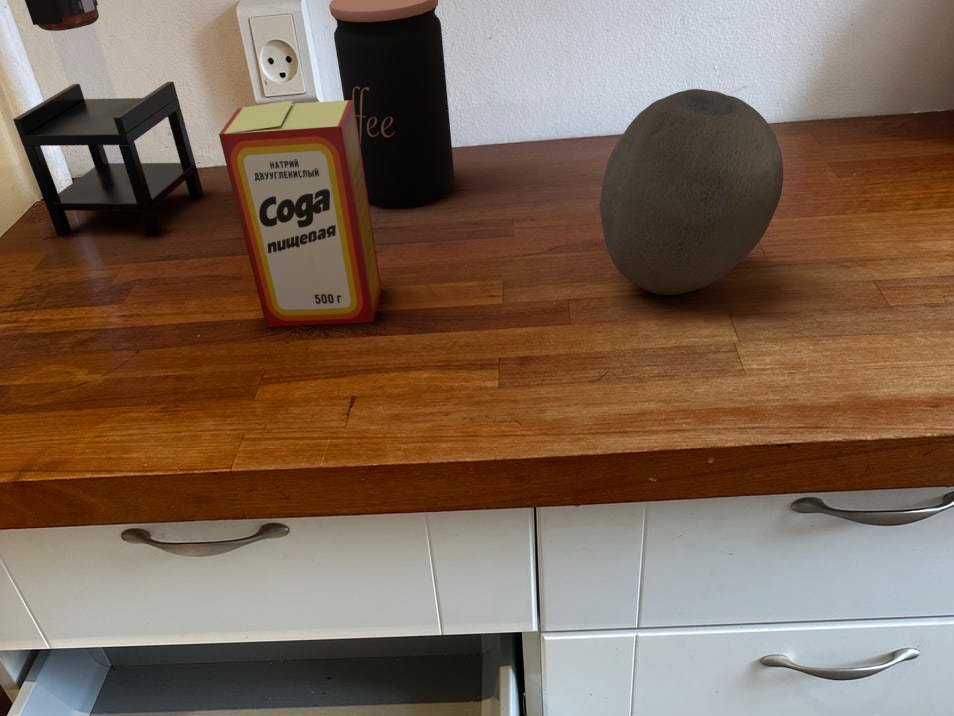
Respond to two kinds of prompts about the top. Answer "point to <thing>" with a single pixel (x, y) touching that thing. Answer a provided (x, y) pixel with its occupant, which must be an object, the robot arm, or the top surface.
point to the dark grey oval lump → (689, 190)
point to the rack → (102, 125)
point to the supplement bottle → (74, 14)
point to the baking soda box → (304, 211)
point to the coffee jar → (396, 97)
